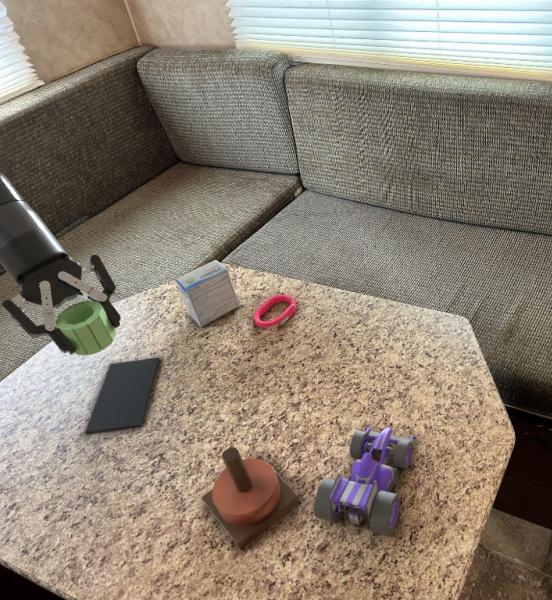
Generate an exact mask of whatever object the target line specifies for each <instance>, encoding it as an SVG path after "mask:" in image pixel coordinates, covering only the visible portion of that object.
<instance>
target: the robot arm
mask: <svg viewBox="0 0 552 600" xmlns="http://www.w3.org/2000/svg"><path fill="white" fill-rule="evenodd" d="M0 265H1V266H2V267H3V269H4V270H5V271H6V272H7V273H8V276H10V278H11V279H12V281H14V282H15V284H16V286H17V287H18V291H19V293H17V294H16V295H14V297H12V298H11V299H4V300H3V301H2V302H1V305H2V308H3V311H4V312H5V313H6V314H7V315H8V316H9V317H10V318H11V319H12V320H13V321H14V322H15V323H16V324H17V325H18V326H20V328H21V329H22V330H23V331H24V332H25V333H27V335H28V336H30V337H31V338H32V339H37V338H40V337H44V336H45V337H49V338H50V339H51V341H52V342H53V343H54V344H55V346H56V347H57V348H58V350H59V351H60V352H61V353H62V354H66V353H68V354H69V355H70V356H72V355H73V354H75V352H76V350H75V348H74V347H73V346H72V344H71V343H70V342H69V340H68V339H67V338H66V336H65V335H64V334H63V333H62V332H61V330H60V329H59V328H57V325H56V321H55V311H54V309H58V308H60V307H62V306H63V305H64V304H65V303H67V302H70V301H74V299H77V298H78V297H80V298H81V299H85V300H86V301H97V302H99V303H100V304H101V306H102V307H103V309H104V310H105V312H106V314H107V316H108V318H109V320H110V322H111V324H112V325H113V327H114V329H115V330H116V329H118V328H119V327H120V326H121V320H122V318H121V314H120V312H118V311H117V309H116V308H115V307H114V305H113V304H112V303H111V301H110V299H111V298H112V296H114V295H115V294H116V289H117V286H116V284H115V283H114V281H113V278H112V277H111V275H110V273H109V271H108V269H107V268H106V267H105V265H104V263H103V261H102V259H101V258H100V256H99V255H98V254H92V255H91V256H90V257H89V258H88V259H85V260H83V261H80V262H78V261H77V260H74V259H73V258H71V256H70V255H69V254H68V253H67V251H66V250H65V249H64V247H63V246H62V245H61V244H60V242H59V241H58V240H57V238H56V236H55V235H54V233H52V231H51V230H50V229H49V227H48V226H47V225H46V223H45V222H44V221H43V220H42V217H40V216H39V214H38V213H37V212H36V211H35V210H34V209H33V208H31V206H30V205H29V204H28V202H26V200H25V199H24V197H22V195H21V194H20V192H19V191H18V190H17V189H16V187H15V186H14V185H13V183H12V182H11V181H10V179H9V178H8V177H7V176H6V175H5V174H4V173H3V172H1V171H0ZM82 271H87V272H88V273H89V274H90V275H95V276H96V278H97V280H98V281H99V284H100V285H101V287H102V289H103V290H102V291H100V290H99V289H96V288H94V286H92V285H90V284H88V283H87V282H85V281H83V280H82V273H83V272H82ZM25 301H26V302H28V303H31V304H35V305H38V306H40V307H41V306H42V313H43V321H44V322H43V323H44V324H39V325H37V324H36V323H35V322H34V321H33V320H32V319H31V318H30V317H28V316H27V314H25V313H24V312H25V309H26V308H25V305H24V302H25Z"/></svg>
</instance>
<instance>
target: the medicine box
mask: <svg viewBox="0 0 552 600" xmlns="http://www.w3.org/2000/svg"><path fill="white" fill-rule="evenodd" d="M175 282H176V285H177V287H178V289H179V293H180V294H181V297H182V299H183V301H184V305H185V306H186V308H187V311H188V314H189V315H190V317H191V318H192V319H193V320H194V321H195V323H196V324H197V325H198V326H199V327H200V328H202V327H204V326H206V325H208V324H210V323H212V322H213V321H215V320H217V319H219V318H220V317H222V316H224V315H226V314H228V313H230V312H232V311H233V310H235V309H237V308H239V307H240V306H241V304H240V302H239V299H238V296H237V293H236V290H235V288H234V284H233V282H232V277H231V275H230V273H229V270H228V269H227V268H226V267H225V266H224V265H223V264H222V263H220V261H218V260H217V259H214V260H212V261H210V262H208V263H205V264H204V265H202V266H199V267H197V268H196V269H193V270H191V271H190V272H187V273H185V274H183V275H181V276H179V277H178V278H176V279H175Z"/></svg>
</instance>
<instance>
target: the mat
mask: <svg viewBox="0 0 552 600" xmlns="http://www.w3.org/2000/svg"><path fill="white" fill-rule="evenodd" d="M160 363H161V358H160V357H153V358H145V359H144V358H143V359H137V360H130V361H122V362H115V363H110V365H109V367H108V370H107V373H106V375H105V378H104V380H103V384H102V386H101V388H100V392H99V394H98V397H97V399H96V402H95V404H94V407H93V410H92V412H91V415H90V418H89V421H88V424H87V425H86V428H85V434H86V435H92V434H98V433H99V434H100V433H107V432H112V431H113V432H114V431H120V430H121V431H122V430H127V429H136V428H141V427H142V424H143V421H144V417H145V414H146V411H147V407H148V404H149V400H150V397H151V393H152V389H153V387H154V383H155V379H156V376H157V372H158V368H159V365H160Z"/></svg>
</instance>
